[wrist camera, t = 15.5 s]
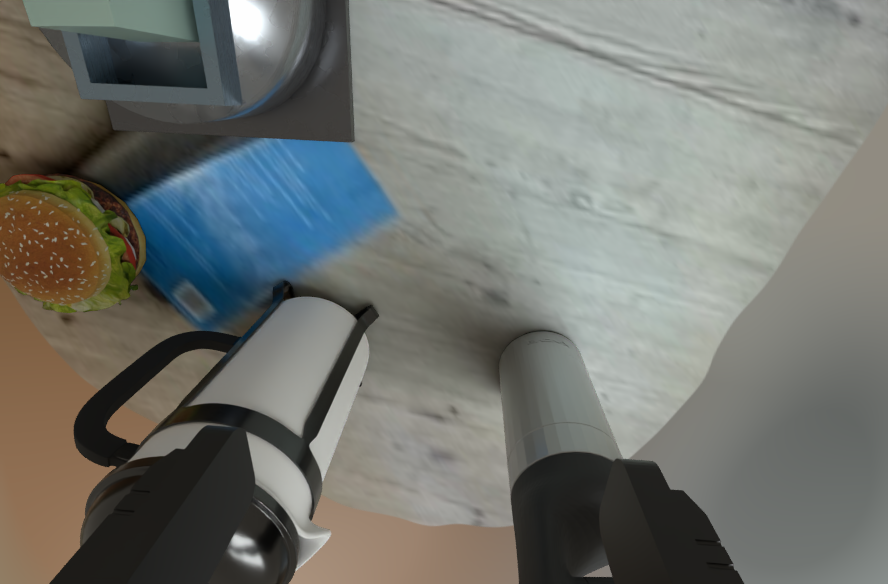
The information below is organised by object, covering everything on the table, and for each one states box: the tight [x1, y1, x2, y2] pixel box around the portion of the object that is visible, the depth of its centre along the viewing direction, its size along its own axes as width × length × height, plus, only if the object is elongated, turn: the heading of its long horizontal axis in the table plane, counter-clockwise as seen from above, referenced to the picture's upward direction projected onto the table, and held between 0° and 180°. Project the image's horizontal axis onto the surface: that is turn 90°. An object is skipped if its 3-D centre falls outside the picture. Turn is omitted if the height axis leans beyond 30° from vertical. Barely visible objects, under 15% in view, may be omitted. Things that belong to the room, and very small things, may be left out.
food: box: [0, 173, 146, 313], centre depth 42 cm, size 14×14×8 cm
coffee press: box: [74, 281, 379, 584], centre depth 35 cm, size 17×16×30 cm
